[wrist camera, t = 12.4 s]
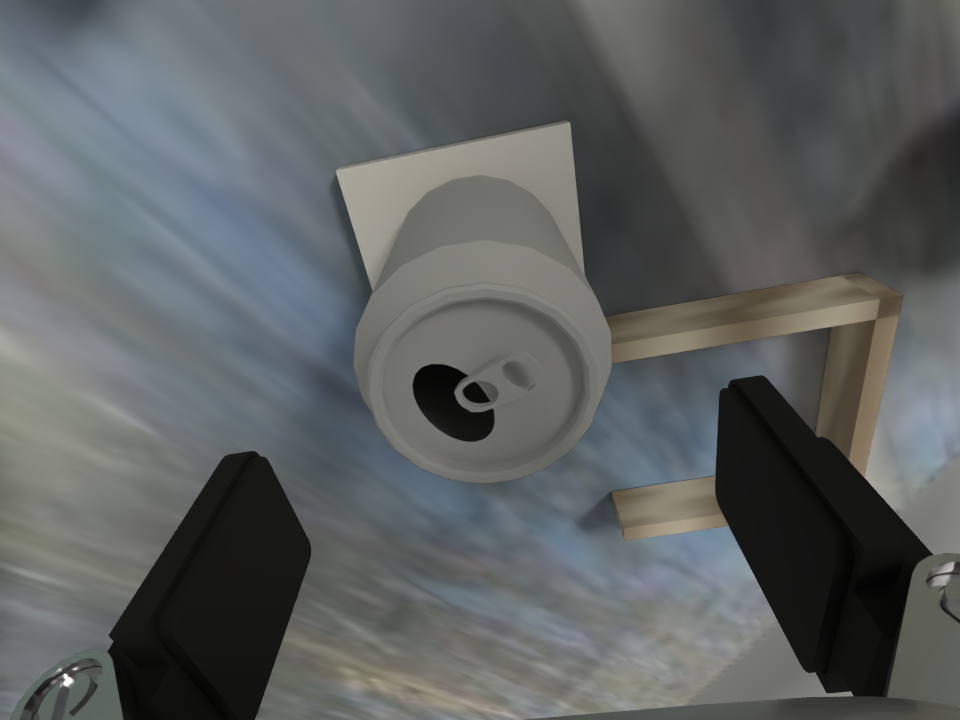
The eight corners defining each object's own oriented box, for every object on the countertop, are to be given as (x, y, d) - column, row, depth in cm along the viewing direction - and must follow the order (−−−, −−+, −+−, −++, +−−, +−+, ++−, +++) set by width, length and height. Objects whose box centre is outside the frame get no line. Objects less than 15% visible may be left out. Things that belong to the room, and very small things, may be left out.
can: (362, 237, 24) (277, 371, 13) (500, 133, 22) (527, 194, 11) (461, 356, 27) (454, 541, 16) (590, 274, 25) (677, 426, 14)
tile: (566, 120, 22) (570, 122, 22) (586, 328, 27) (590, 337, 26) (340, 166, 23) (335, 170, 22) (399, 361, 28) (396, 370, 27)
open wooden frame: (860, 272, 26) (903, 295, 23) (826, 471, 32) (857, 507, 30) (595, 318, 27) (609, 345, 24) (612, 503, 33) (624, 540, 31)
